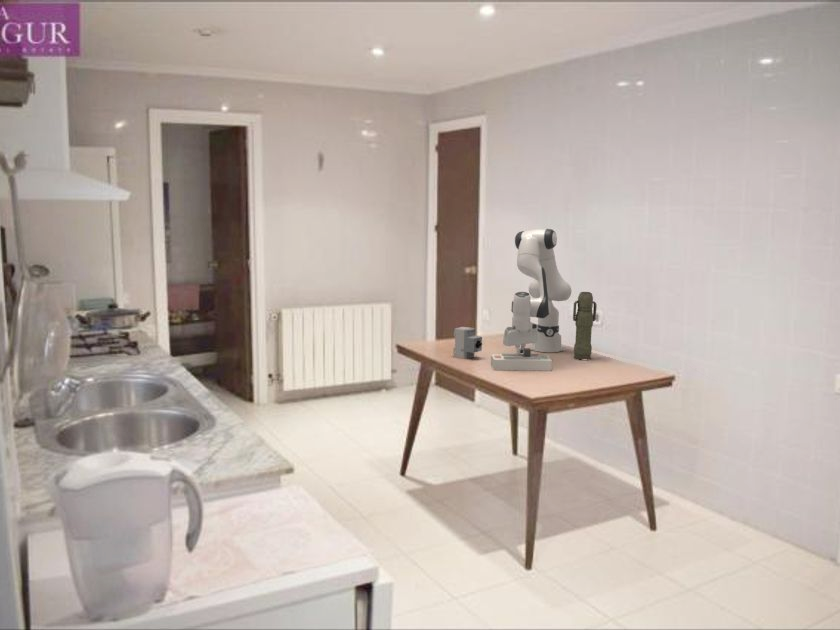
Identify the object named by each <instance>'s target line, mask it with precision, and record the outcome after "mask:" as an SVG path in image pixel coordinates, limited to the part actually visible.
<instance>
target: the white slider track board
mask: <svg viewBox="0 0 840 630" xmlns="http://www.w3.org/2000/svg"><path fill="white" fill-rule="evenodd" d="M490 366H491V367H492V369H493V371H530V370H535V371H540V372H551V371H552V369H553V367H552V366H553V361H552V359H551V358H550V356H548V354H539V353H531V355H530V357H524V356H523V353H520V354H518V353H501V354H499V353H498V354H497V353H494V354H493V353H492V354H491V355H490Z"/></svg>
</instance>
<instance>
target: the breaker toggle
mask: <svg viewBox="0 0 840 630" xmlns="http://www.w3.org/2000/svg"><path fill="white" fill-rule="evenodd" d="M531 352H532V350H531V349H530V347H529V348H526V347H525V348H524V350H523V353H522V354H523V356H524V357H530V355H531V354H532V353H531Z"/></svg>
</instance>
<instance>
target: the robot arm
mask: <svg viewBox="0 0 840 630" xmlns="http://www.w3.org/2000/svg"><path fill="white" fill-rule="evenodd" d="M557 243H558V236H557V232H556V231H555V230H554V229H551V228H546V229H544V228H539V229H538V228H536V229H531V230H522V231H519V232H517V233H516V235H515V237H514V245H515V248H516V249H517V258H516V266H517V268H518V270H519V271H520V272H521V274H524V275H525V276H527V277H530V278H532V279H533V280H532V281H530V283H529V286H528V292H527V291H518V292H515V294H514V295H513V299H512V301H511V309H510V311H511V312H512V319H511V320H512V321H511V326H507V327H506V328H505V329H504V334H503V340H502V344H503V346H505V347H506V346H507V347H513V346H514V347H515V350H516V354H523V353H524V348H526V345H528V344H530V347H529V348H530V349H531V351H535V352H541V353H559V352H563V351H565V349H564V347H562V335H561V334H560V333H559V332H560V325H559V320H560V319H559V318H560V317H559V316H560V312H559V310H558V308H556V307H555V306H554V304H553V302H563V301H565V302H566V301H567V300H569V298H570V297H571V295H572V286H571V285H570V284H569V283H568V282H567V281H566V280H565V279H564V278H563V277H562V275H561V273H560V272H559V270H558V266H557V261H556V256H555V249H554V248H555V247H556V245H557ZM531 318H537V319H538V320H537V323H534V322H531Z"/></svg>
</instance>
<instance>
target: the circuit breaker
mask: <svg viewBox="0 0 840 630" xmlns="http://www.w3.org/2000/svg"><path fill="white" fill-rule="evenodd" d="M453 330H454V331H453V337H454V347H453V349H452V350H453V356H452V357H453V358H459V359H465V360H467V359H470V358H474V357H475V353H478V352H482V348H483V347H482V346H483V343H482V342H483V336H482V335H476V328H475V327H467V326H461V327H456V328H454V329H453Z"/></svg>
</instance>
